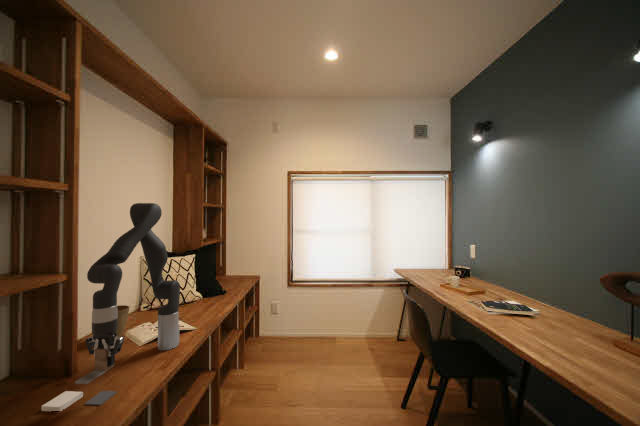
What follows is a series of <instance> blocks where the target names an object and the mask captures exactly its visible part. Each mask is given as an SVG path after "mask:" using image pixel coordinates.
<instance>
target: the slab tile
mask: <svg viewBox="0 0 640 426" xmlns="http://www.w3.org/2000/svg"><path fill="white" fill-rule="evenodd" d="M83 397H84V392H83V391H71V390H65V391H64V392H62V393H60V394H59V395H57V396H56V397H54V398H52V399H51V400H49V401H47V402H46V403H44V404H42V405H41V412H51V411H61V412H62V411H64V410H65V409H67V408H68V407H70V406H71V405H72V404H75V402H77V401H79V400H80V399H81V398H83ZM63 409H64V410H63Z"/></svg>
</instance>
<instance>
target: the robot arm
mask: <svg viewBox="0 0 640 426" xmlns="http://www.w3.org/2000/svg"><path fill="white" fill-rule="evenodd" d="M162 212H163V211H162V208H161V206H160V205H159V204H157V203H154V202H153V203H152V202H139V203H137V202H136V203H133V204H132V205H131V206H130V209H129V215H130V216H129V217H130V220H131V223H132V225H133V227H132V228H131V229H129V230H128V231H126V232H125V233H123V234H122V235H121V236H120V237H118V238H117V239H116V240H115V242H114V243H113V244H112V246H111V247H110V249H109V250H108V252H106V253H105V254H104V255H102V256H101V257H100V258H99V259H98V260H96V261H95V262H94V263H93V264H92V265H91V266H90V267H89V269H88V271H87V274H86V276H87V277H86V278H87V280H88V282H89V283H91V284H99V285H100V284H103V287H102V289H99V290H97V291H95V292H94V293H93V295H92V312H91V335H92V336H90V337H87V338H85V344H86V348H87V350H88V354H89V355H93V356H94V357H95V349H98V348H99V347H104V349H106V351H107V355H108V357H107V366H108V367H110V366H112V365H113V364H114V365H115V363H116V355H117V354H119V353H120V352H121V351H122V348H123V345H124V341H125V337H124V336H121V338H120V337H118V336H117V334H116V330H117V328H118V309H117V306H118V304H117V303H118V292H119V289H120V285H121V281H122V278H123V269H122V268H121V266H120V264H123V263H126V261H127V260H128V259H129V257H130V256H131V254H132V252H133V251H134V250H135V248H136V247H137V246H138V244H139V243H140V245H141V247H142V251H143V256H144V259H145V262H146V266H147V269H148V272H149V276H150V281H151V286H152V287H151V288H152V292H153V296H154V297H155V299H156V300H157V299H158V300H167V303H166V304H164V305H161V306H159V307H158V309H157V325H158V328H157V350H158V351H169V350H173V349H174V348H176V347H177V348H178V346H179V345H180V344H179V343H180V324H179V322H180V320H179V317H180V316H179V307H180V300H181V299H180V297H181V296H180V294H181V284H180V282H179V281H178V280H165V279H164V278H163V277H164V276H163V270H164V268H165V267H166V264H167V262H168V258H169V257H168V251H167V247H166V245H165V244H164V242H163V241H162V240H161V238H160V237H159V236H157V235H156V233H155V232H153V230H152V229H153V228H154V227H155V225H156V224H157V223H158V222H159V221H160V219H161V217H162ZM110 345H111V347H108V346H110ZM172 348H173V349H172ZM111 349H112V352H111Z"/></svg>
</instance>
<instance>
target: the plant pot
mask: <svg viewBox="0 0 640 426" xmlns="http://www.w3.org/2000/svg"><path fill="white" fill-rule="evenodd" d="M117 309H118V328H117V330H116V334H117V336H118V337H120V338H121V337H123V333H124V331H125V329H126V328H125V327H126V325H127V322H128V318H129V313H130V306H129V305H127V304H126V305H125V304H122V305H121V304H119V305H117Z"/></svg>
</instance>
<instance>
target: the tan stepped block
mask: <svg viewBox="0 0 640 426" xmlns="http://www.w3.org/2000/svg"><path fill="white" fill-rule="evenodd" d="M108 347H111V345H110V346H108ZM111 352H112V349H111ZM107 357H108V355H107V351H106V349H104V347H99V348H98V349H95V356H94V370H92V371H90V372H88V373H87V374H86V375H84V376H82V377H80V378H78V379H77V380H75V381H74V384H75V385H88V384H89V383H91V382H93V381H94V380H95V379H97V378H98V377H100V376H102V375H104V374H105V373H106V372H107V371H109V370H110V369H112V368H113V367H115V363H114V364H113V365H112V366H110V367H108V366H107Z"/></svg>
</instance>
